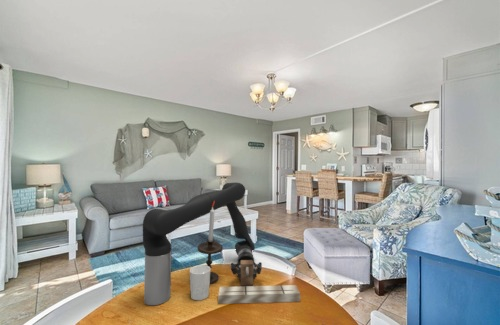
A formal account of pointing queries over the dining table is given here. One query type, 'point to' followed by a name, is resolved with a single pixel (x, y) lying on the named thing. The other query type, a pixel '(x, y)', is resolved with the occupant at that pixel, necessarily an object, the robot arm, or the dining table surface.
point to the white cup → (199, 282)
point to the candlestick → (210, 247)
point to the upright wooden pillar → (246, 272)
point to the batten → (258, 294)
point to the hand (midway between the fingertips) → (247, 276)
